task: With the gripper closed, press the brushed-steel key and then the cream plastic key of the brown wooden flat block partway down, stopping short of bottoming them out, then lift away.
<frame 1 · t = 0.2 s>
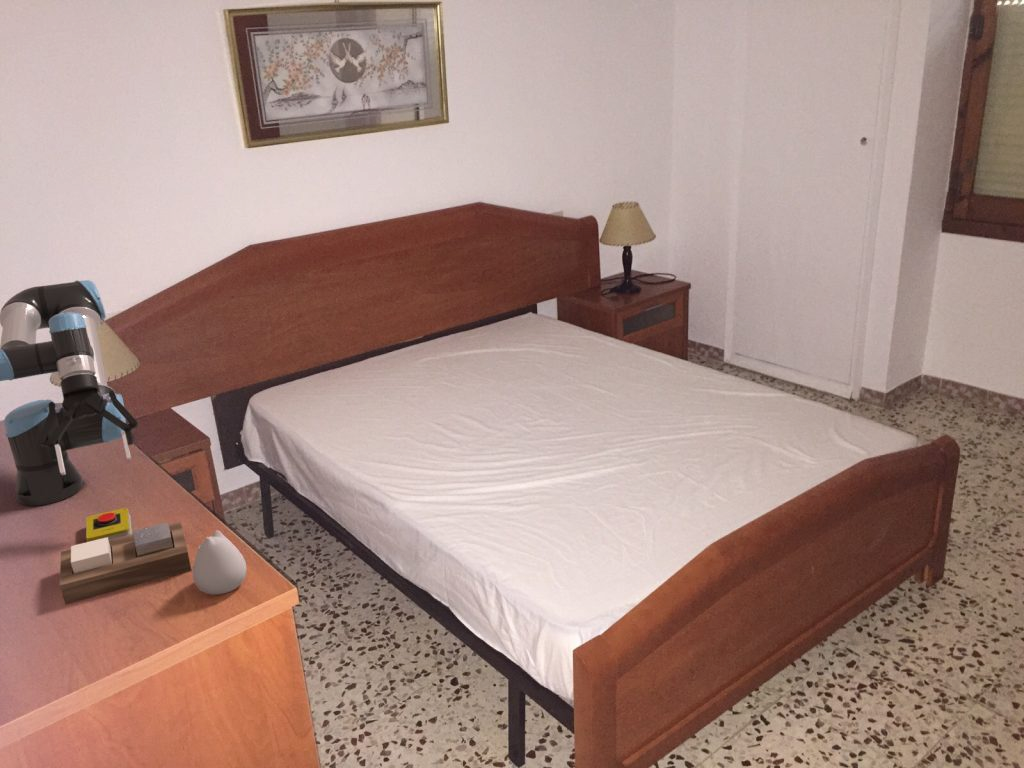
hand: (96, 466, 186), 16 cm above the dresser, tool tilted 35°, fingers open, 13 cm apart
emergency button: (110, 536, 191), on the dresser
cream key: (91, 556, 171), point 5 cm above the dresser, slide at 0.0 cm
toy character: (222, 585, 169), on the dresser
steel key: (153, 540, 176), point 5 cm above the dresser, slide at 0.0 cm
brown wooden flat block: (128, 570, 176), on the dresser
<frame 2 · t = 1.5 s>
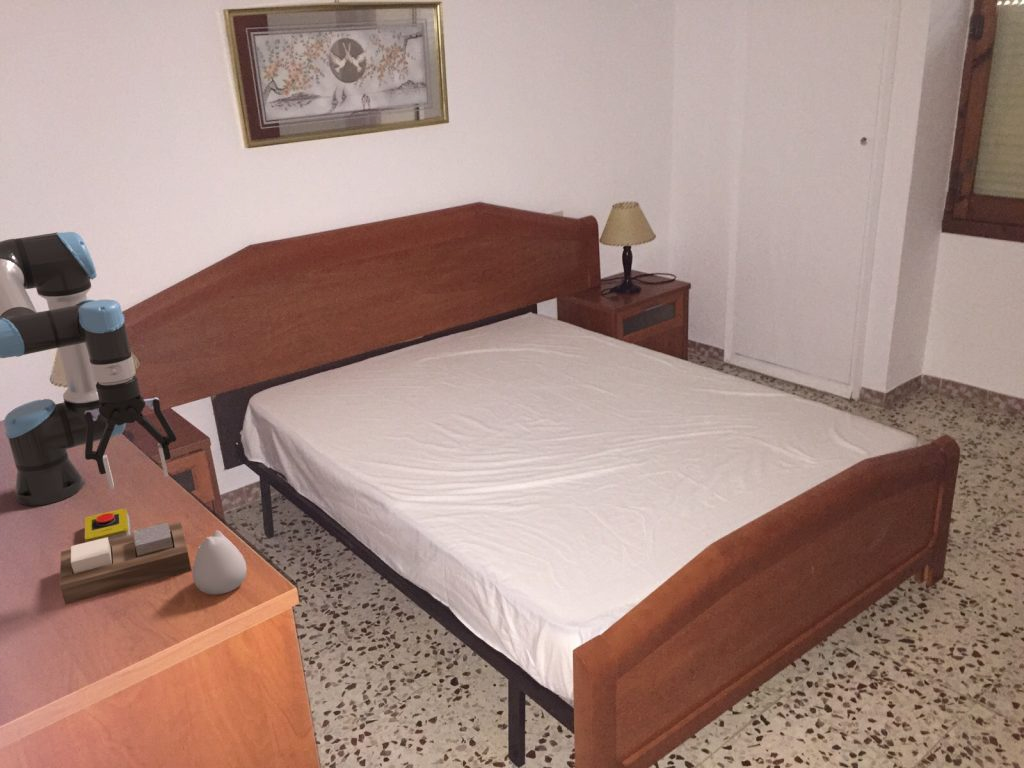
hand: (139, 480, 171), 20 cm above the dresser, tool pointing down, fingers open, 10 cm apart
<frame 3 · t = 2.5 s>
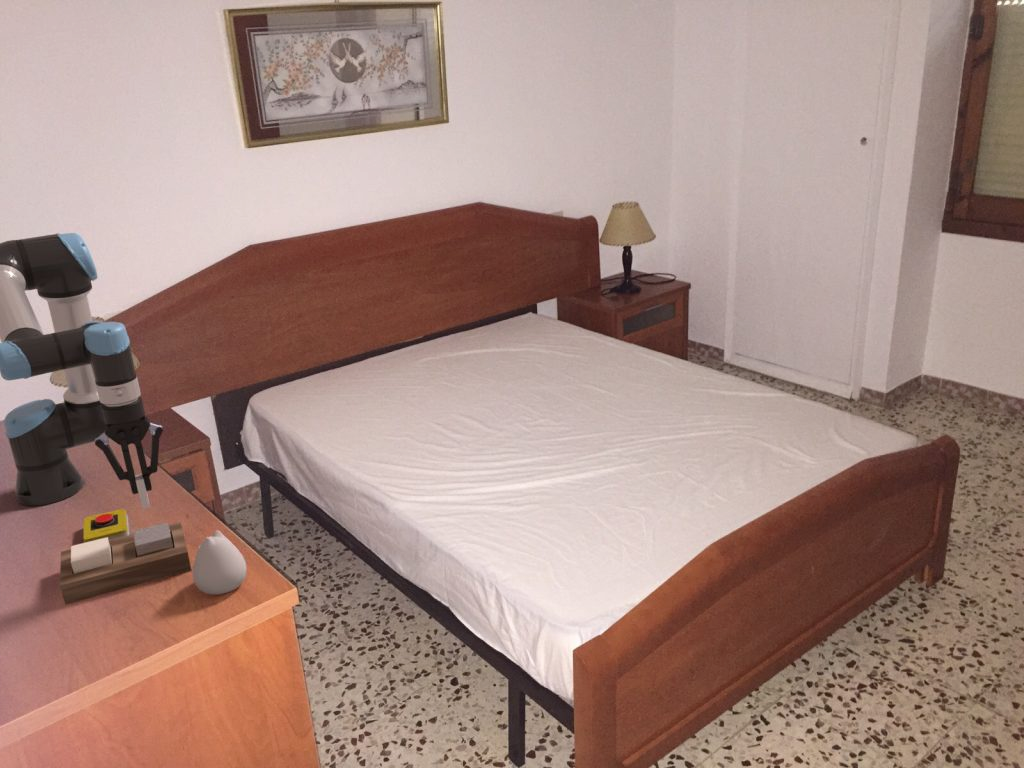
hand: (145, 505, 173), 14 cm above the dresser, tool pointing down, fingers closed
nothing on the dresser moved.
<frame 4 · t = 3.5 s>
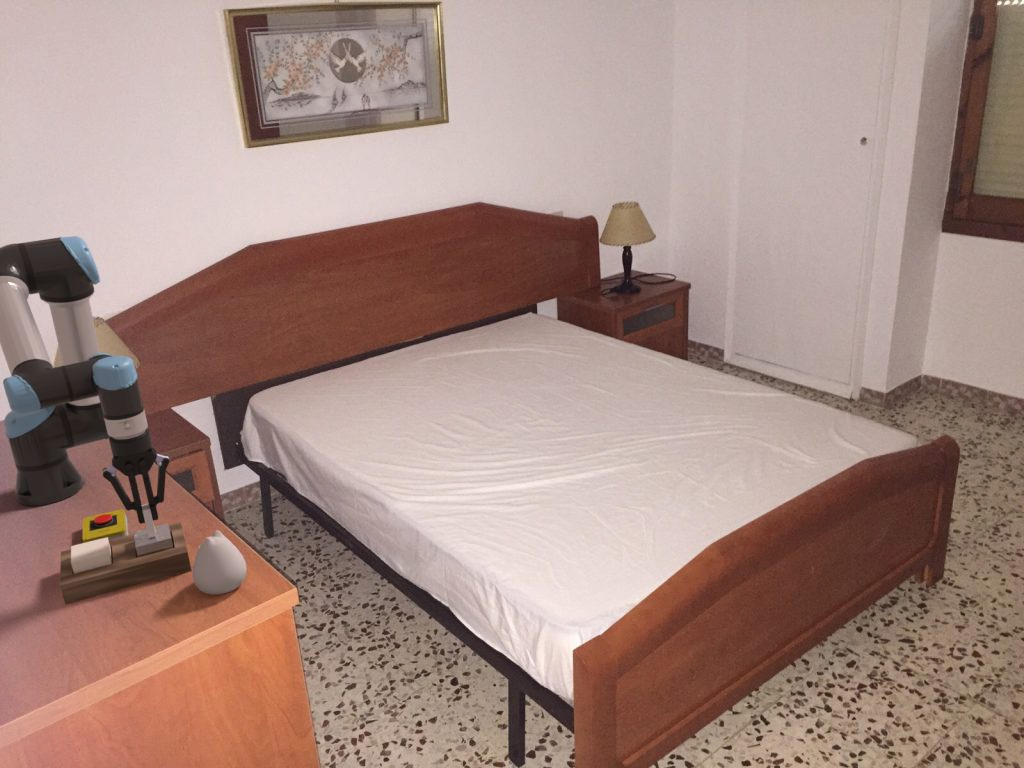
hand: (152, 534, 175), 7 cm above the dresser, tool pointing down, fingers closed
steel key: (153, 541, 176), point 5 cm above the dresser, slide at 0.3 cm, touching gripper
everything else where it was.
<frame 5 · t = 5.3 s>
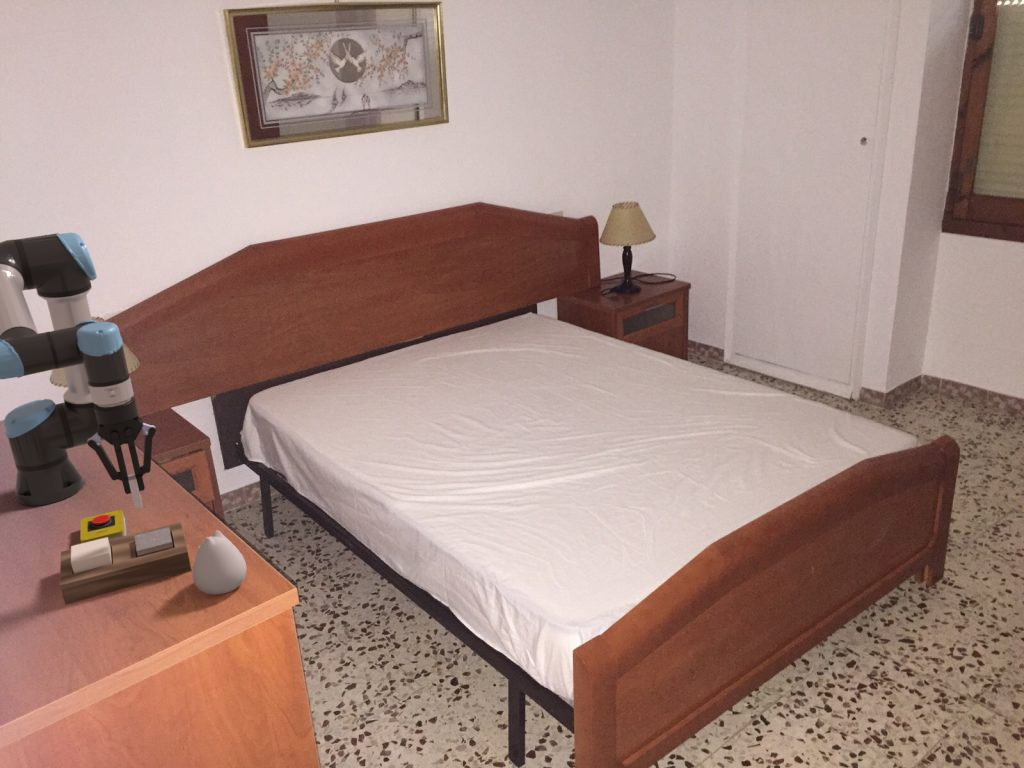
hand: (138, 505, 173), 14 cm above the dresser, tool pointing down, fingers closed
steel key: (154, 545, 177), point 4 cm above the dresser, slide at 1.2 cm
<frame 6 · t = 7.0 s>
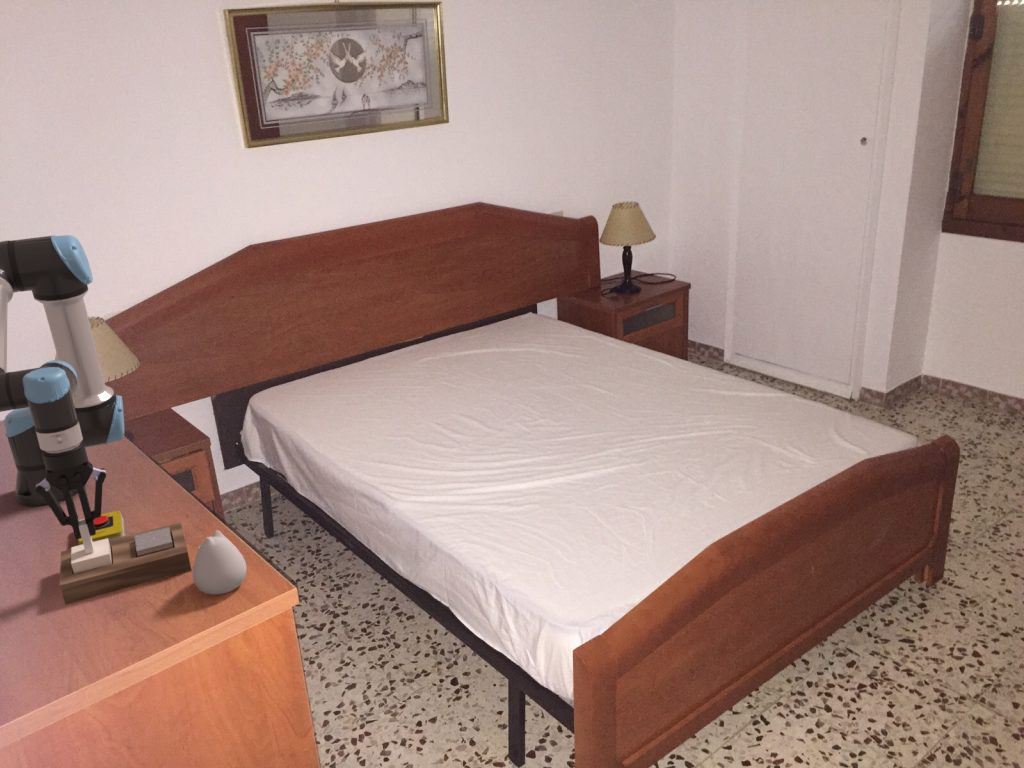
hand: (89, 549, 171), 7 cm above the dresser, tool pointing down, fingers closed
cream key: (91, 557, 172), point 5 cm above the dresser, slide at 0.3 cm, touching gripper
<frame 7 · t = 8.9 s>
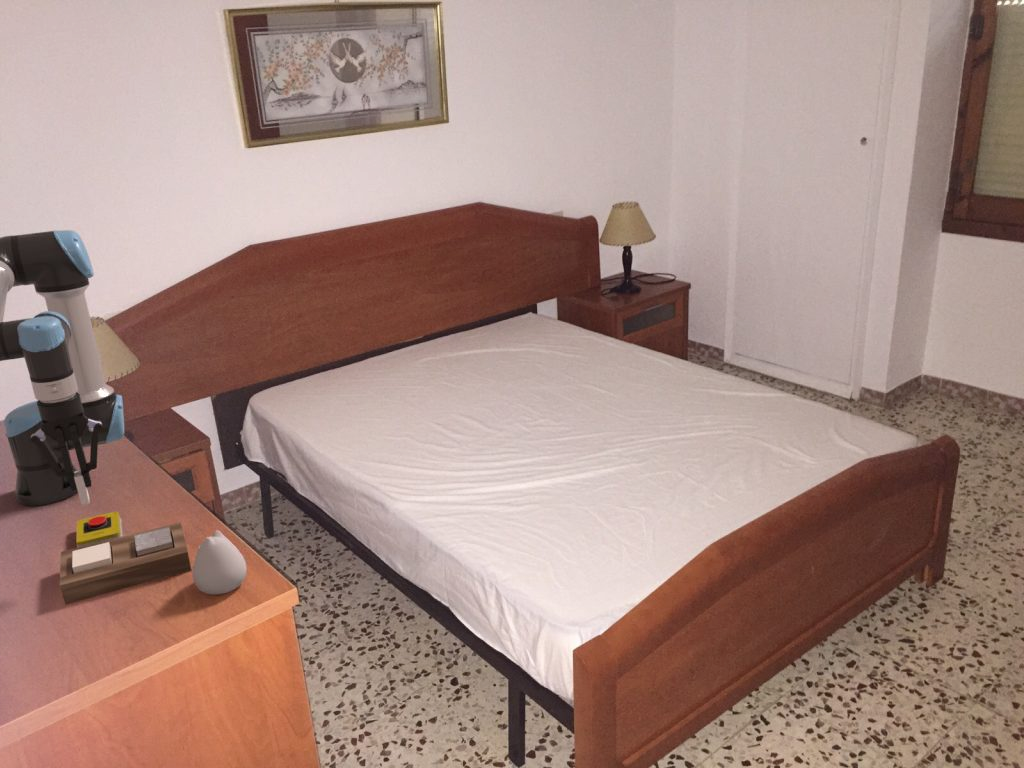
hand: (85, 501, 170), 16 cm above the dresser, tool pointing down, fingers closed
cream key: (93, 561, 172), point 4 cm above the dresser, slide at 1.2 cm
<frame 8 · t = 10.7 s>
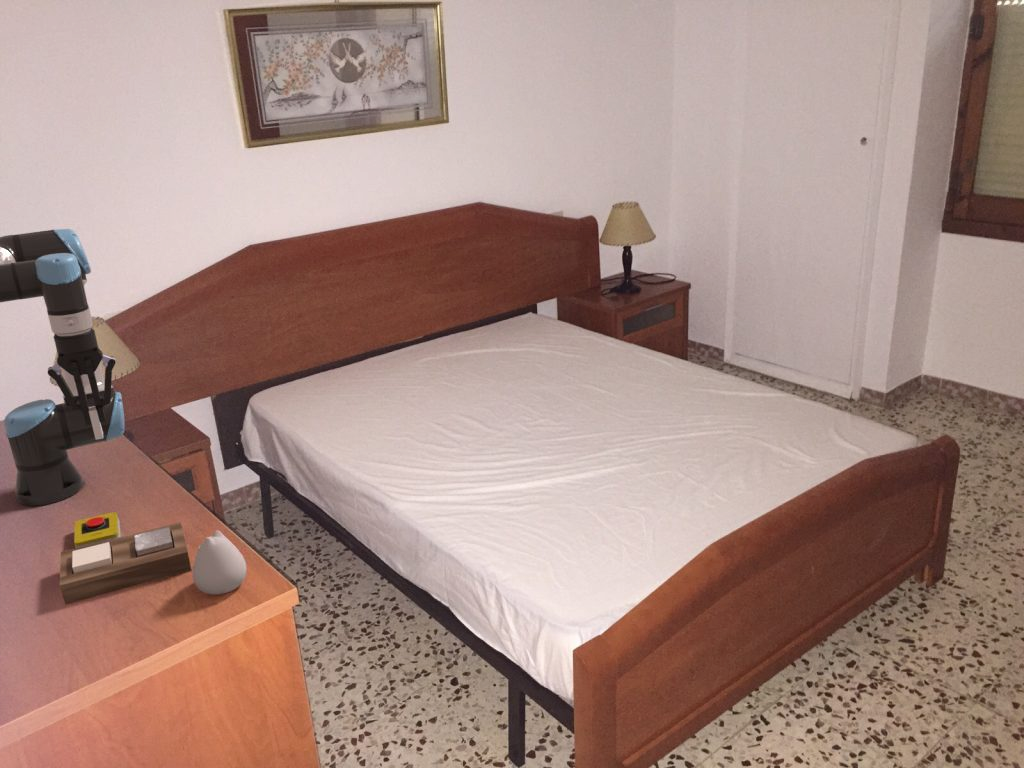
hand: (99, 436, 176), 26 cm above the dresser, tool pointing down, fingers closed
at the end: steel key slide at 1.2 cm; cream key slide at 1.2 cm; emergency button moved 2.8 cm from its start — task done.
